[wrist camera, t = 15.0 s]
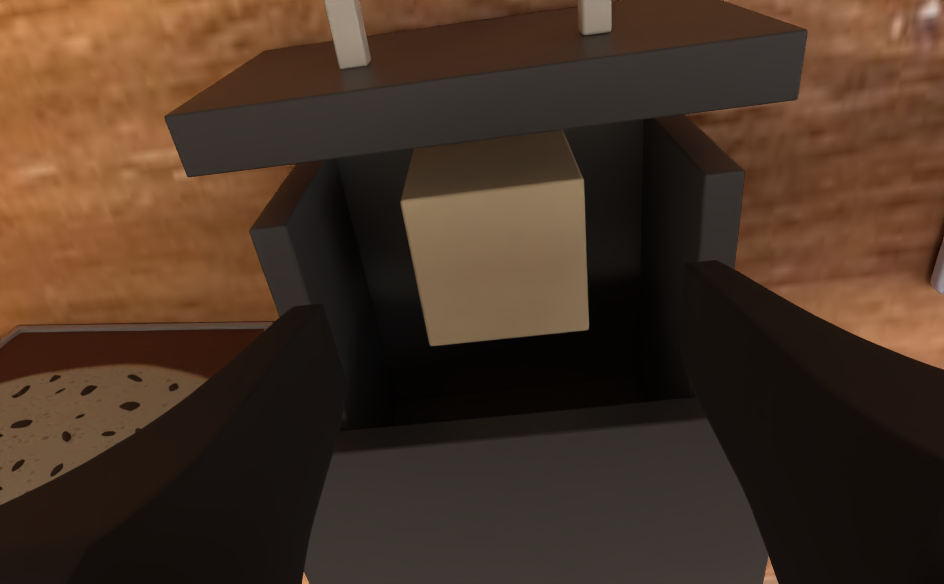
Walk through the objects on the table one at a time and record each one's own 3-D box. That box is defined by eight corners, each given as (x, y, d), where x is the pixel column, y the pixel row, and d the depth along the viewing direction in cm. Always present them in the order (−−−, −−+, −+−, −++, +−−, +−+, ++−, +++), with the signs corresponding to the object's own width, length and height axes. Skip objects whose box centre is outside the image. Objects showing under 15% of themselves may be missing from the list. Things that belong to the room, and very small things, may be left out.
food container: (42, 447, 25) (-173, 714, 17) (-24, 326, 22) (-330, 580, 14) (337, 443, 25) (269, 709, 17) (313, 320, 22) (215, 574, 14)
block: (561, 123, 16) (584, 178, 13) (567, 254, 18) (589, 330, 15) (414, 142, 17) (399, 200, 13) (437, 268, 19) (429, 347, 15)
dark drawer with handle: (203, -154, 14) (38, -197, 9) (706, -238, 13) (864, -341, 8) (365, 399, 23) (332, 547, 18) (672, 369, 22) (736, 513, 17)
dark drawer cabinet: (323, 285, 21) (253, 461, 14) (689, 243, 20) (799, 410, 14) (398, 533, 28) (374, 730, 22) (672, 510, 28) (738, 708, 21)
